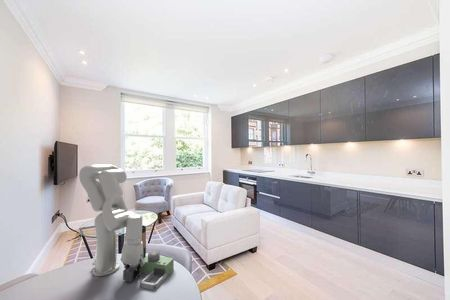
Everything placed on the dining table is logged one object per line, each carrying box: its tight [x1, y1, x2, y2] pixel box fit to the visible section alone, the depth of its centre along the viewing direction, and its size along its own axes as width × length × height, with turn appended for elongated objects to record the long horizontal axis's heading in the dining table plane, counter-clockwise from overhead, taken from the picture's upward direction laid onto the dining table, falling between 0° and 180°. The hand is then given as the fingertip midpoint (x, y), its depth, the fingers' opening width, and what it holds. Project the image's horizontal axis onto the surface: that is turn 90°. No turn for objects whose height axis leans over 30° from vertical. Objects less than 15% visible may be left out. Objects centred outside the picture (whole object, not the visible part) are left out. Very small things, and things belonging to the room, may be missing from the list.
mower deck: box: [139, 250, 174, 291], centre depth 97 cm, size 16×16×9 cm
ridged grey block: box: [122, 265, 142, 283], centre depth 95 cm, size 4×7×5 cm, turn 163°
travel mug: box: [142, 224, 147, 259], centre depth 111 cm, size 8×8×20 cm
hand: (132, 275), depth 95 cm, fingers closed on ridged grey block, 4 cm apart
